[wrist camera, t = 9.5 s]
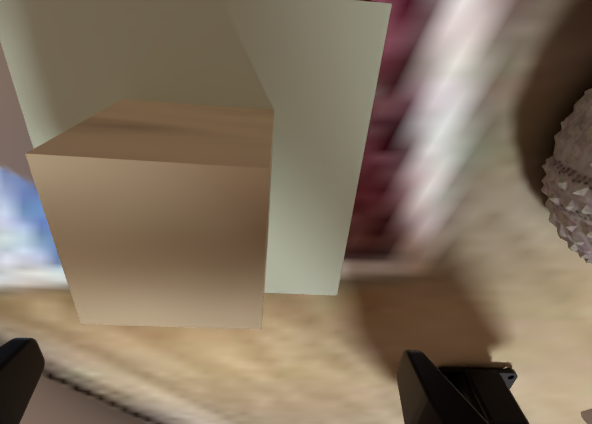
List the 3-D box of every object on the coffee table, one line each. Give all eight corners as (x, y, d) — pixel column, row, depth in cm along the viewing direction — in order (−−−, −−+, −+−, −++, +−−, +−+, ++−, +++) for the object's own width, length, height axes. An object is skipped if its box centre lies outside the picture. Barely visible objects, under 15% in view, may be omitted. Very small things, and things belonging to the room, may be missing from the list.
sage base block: (330, 261, 22) (336, 295, 19) (101, 251, 21) (76, 285, 18) (373, 4, 15) (391, 3, 12) (32, -29, 14) (-24, -37, 11)
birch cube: (268, 232, 17) (261, 329, 12) (143, 226, 17) (80, 324, 12) (274, 109, 14) (268, 168, 9) (122, 99, 14) (25, 153, 9)
